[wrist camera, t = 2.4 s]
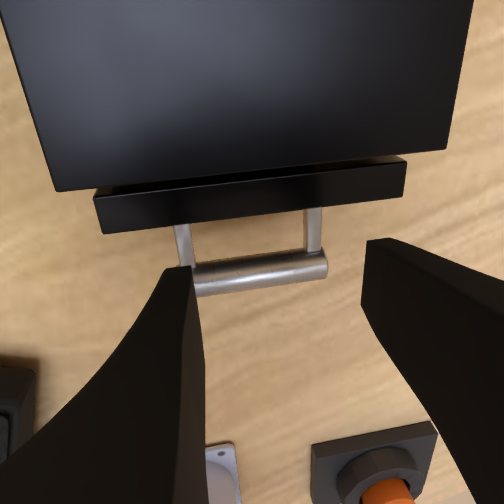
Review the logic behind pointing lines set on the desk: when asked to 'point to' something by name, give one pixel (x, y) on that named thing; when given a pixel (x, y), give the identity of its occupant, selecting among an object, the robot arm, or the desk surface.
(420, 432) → the control block
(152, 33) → the black box
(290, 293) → the desk surface
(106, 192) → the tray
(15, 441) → the walkie-talkie
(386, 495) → the button
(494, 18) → the desk surface
